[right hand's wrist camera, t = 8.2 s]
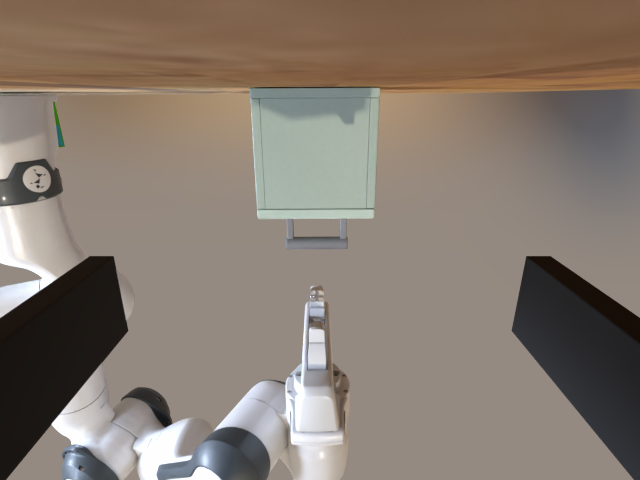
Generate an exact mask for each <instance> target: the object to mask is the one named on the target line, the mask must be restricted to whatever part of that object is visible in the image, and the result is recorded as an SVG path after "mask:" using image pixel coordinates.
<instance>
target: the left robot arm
mask: <svg viewBox="0 0 640 480" xmlns="http://www.w3.org/2000/svg"><path fill="white" fill-rule="evenodd" d="M57 101H58V98H57V95H0V263H2V264H5V265H9V266H15V267H20V268H25V269H28V270H31V271H33V272H35V273H37V274H38V275H40V276H41V277H42V278H43V279H41V280H35V281H30V282H25V283H20V284H14V285H9V286H4V287H0V318H1V317H2V316H4V315H5V314H7V313H8V312H9V311H11V310H12V309H14V308H15V307H17V306H18V305H20V304H21V303H23V302H24V301H25V300H27V299H28V298H30V297H31V296H33V295H34V294H36V293H37V292H38V291H40V290H41V289H43V288H44V287H46V286H47V285H49V284H50V283H52V282H53V281H54V280H56V279H57V278H59V277H60V276H62V275H63V274H65V273H66V272H67V271H69V270H70V269H72V268H73V267H75V266H76V265H78V264H79V263H81V262H82V261H83V260H85V259H86V258H88V257H89V255H88V254H87V253H86V252H85V251H84V250H83V249H82V248H81V247H80V245H79V244H78V243H77V241H76V239H75V237H74V235H73V233H72V230H71V228H70V225H69V222H68V219H67V216H66V212H65V209H64V205H63V202H62V197H61V192H62V191H63V188H62V179H61V178H60V174H59V169H57V168H55V156H56V153H57V151H58V138H57V130H56V122H55V115H54V107H53V102H57ZM116 271H117V270H116ZM117 276H118V281H119V286H120V291H121V297H122V302H123V307H124V312H125V317H126V321H127V319H128V318H129V316H130V315H131V313H132V310H133V307H134V303H135V294H134V290H133V287H132V285H131V283H130V282H129V280H128V279H127V278H126V277H125V276H124V275H123V274H122V273H120V272H119V271H117ZM349 398H350V383H349V380H348V378H347V376H346V375H345V374H344V372H342V371H341V370H340V369H339V368H338V367H337V366H336V365H335V364H334V363H332V348H331V330H330V312H329V304H328V303H327V302H324V296H323V287H322V286H312V287H311V298H310V302H307V303H306V306H305V321H304V338H303V355H302V364H300V365H299V366H298V367H297V368H296V370H294V371H293V372H292V373H291V374H290V375H289V377H288V378H287V380H286V383H284V382H281V381H277V380H263V381H260V382H258V383H257V384H256V385H255V386H254V387H253V388H252V389H251V390H250V391H249V392H248V393H247V394H246V395H245V396H244V397H243V399H242V400H241V401H240V402H239V403H238V404H237V405H236V407H235V408H234V409H233V410H232V411H231V412H230V413H229V414H228V416H227V417H226V418H225V419H224V420H223V421H222V422H221V423H220V424H219V426H218V427H217V428H216V429H214V427H213V426H212V425H211V424H210V423H209V422H207V421H206V420H204V419H201V418H187V419H183V420H180V421H178V422H176V423H174V424H172V419H171V417H170V410H169V407H168V404H167V402H166V400H165V399H164V398H163V397H162V395H160V394H159V393H158V392H156V391H155V390H153V389H150V388H145V387H138V388H135V389H133V390H132V391H131V392H129V393H128V394H127V395H125V396H124V397H123V398H122V399H121V402H120V403H119V404H117V405H116V406H115V407H114V408H113V409H112V408H111V407H110V405H109V393H108V384H107V380H106V375H105V372H104V368H103V364H102V363H101V365H100V366H99V367H98V368H97V369H96V371H95V372H94V373H93V374H92V376H91V377H90V378H89V379H88V380H87V382H86V383H85V384H84V385H83V387H82V388H81V389H80V390H79V391H78V393H77V394H76V395H75V396H74V397H73V399H72V400H71V401H70V402H69V404H68V405H67V406H66V407H65V408H64V410H63V411H62V412H61V413H60V415H59V416H58V417H57V418H56V419H55V421H54V422H53V423H52V425H53V427H54V428H55V429H56V430H57V431H58V432H59V433H61V434H62V435H64V436H66V437H68V438H69V439H70V440H71V443H72V445H71V446H69V447H66V448H65V449H64V450H63V453H62V457H63V459H64V462H63V466H62V479H63V480H124V479H125V478H126V477H127V476H128V474H129V473H130V472H131V471H132V470H133V469H134V467H135V466H136V465H137V472H138V476H139V478H140V480H266V479H267V477H268V475H269V473H270V471H271V470H272V468H273V467H274V465H275V463H276V462H277V460H278V459H279V458H280V459H281V460H282V461H283V462H284V464H285V465H286V466H287V467H288V469H289V470H290V472H291V474H292V477H293V480H341V478H342V476H343V473H344V470H345V466H346V461H347V452H348V429H347V426H346V424H347V421H348V418H349Z"/></svg>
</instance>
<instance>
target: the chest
mask: <svg viewBox="0 0 640 480" xmlns="http://www.w3.org/2000/svg"><path fill="white" fill-rule="evenodd" d="M379 97H380V88H250V98H251V99H250V101H251V117H252V134H253V150H254V166H255V181H256V198H257V208H258V209H265V208H266V209H342V208H375V190H376V168H377V147H378V125H379V103H380V99H379Z"/></svg>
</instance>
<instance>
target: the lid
mask: <svg viewBox="0 0 640 480" xmlns="http://www.w3.org/2000/svg"><path fill="white" fill-rule="evenodd" d="M374 211H375V210H374V208H342V209H266V208H265V209H258V210H257V214H258V219H287V238H286V248H287V249H347V247H348V239H347V237H346V224H347V218H374ZM293 219H340V237H294V232H293Z"/></svg>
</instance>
